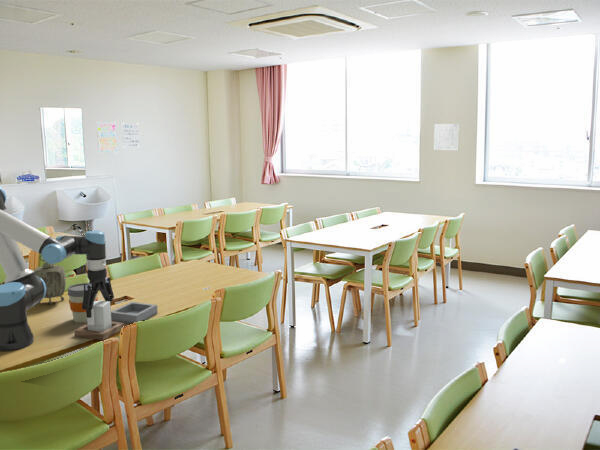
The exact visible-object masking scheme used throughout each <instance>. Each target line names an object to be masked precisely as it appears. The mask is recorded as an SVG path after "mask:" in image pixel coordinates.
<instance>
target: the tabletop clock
mask: <svg viewBox="0 0 600 450" xmlns="http://www.w3.org/2000/svg"><path fill="white" fill-rule="evenodd" d="M39 260H40V261H41V262H43V263H42V266H38V267H36V268H34V270H33V271H34V272H35V274H36V276H38V277H39V278H41V279H42V280H43V281H44V282H45V284H46V294H45V297H44V298H43V299H48V305H52V304H53V302H52V299H53V298H58V297H60V300H61V301H64V300H65V297H64V294H65V290H66V284H67V282H66V280H67V278H66V270H65V268H64V267H63V266H62V265H58V264H57V265H54V264H50V263H47V262H45V261H44V259H43V258H42V255H41V254H40V256H39Z"/></svg>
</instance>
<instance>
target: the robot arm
mask: <svg viewBox="0 0 600 450" xmlns="http://www.w3.org/2000/svg"><path fill="white" fill-rule="evenodd" d="M6 201H7V195H6V192H5V190H4V188H3V187H1V186H0V265H1V268H2V270H3V272H4V274H5V276H6V278H5V280H4V283H3V284H0V352H3V351H4V352H6V351H7V352H8V351H14V350H19V349H22V348H25V347H29V346H30V345H32V344H33V343H34V340H35V338H34V337H35V336H34V333H33V332H32V330H31V327H30V325H29V323H28V313H27V311H28V310H29V309H31V308H32V307H34V306H36V305H38V304H39V303H40V302H41V301H42V300H43V299H45V298H44V297H45V294H46V284H45V282H44V281H43V280H42V279H41V278H39V277H38V276H36V274H35V272H34V270H32V269H30V268H29V267H28V265H27V262H26V260H25V258H24V256H23V253H22V251H21V249H20V245H18V243H19V244H22V245H23V246H25V247H26V248H28V249H30V250H32V251H34V252H36V253H38V254H40V256H41V255H42V256H41V259H42V260H44V261H45V262H47V263H50V264H53V265H54V264H57V263H61V262H62V261H64V260H65V259H68V258H70V257H71V256H74V255H83V256H84V255H85V258H86V261H85V262H86V269H87V270H86V274H87V276H86V277H87V279H88V280H89V282H88V283H89V284H88V285H84V296H83V304H82V309H84V310H86V315H87V321H88V325H94V309H92V307H93V304H94V300H95V297H96V294H97V295H98V293H99V292H100V293H101V295H102V298H103V299H104V301H110V306H111V307H112V305H111V303H112V302H113V301H114V298H115V296H114V292H113V287H112V283H111V277H108V274H107V273H108V272H107V258H106V257H107V255H106V254H107V251H106V248H107V247H106V237H105V232H104V231H102V230H89V231H86V232H85V233H84V235H75V236H74V235H58V236H57V237H56V238H54V237H51V236H50V235H48V234H46V233H44V232H43V231H41V230H39V229H37V228H35V227H33V226H31V225H30V224H28V223H27V222H24V221H22V220H20V219H19V218H17V217H15V216H14V215H11V214H10V213H9V212H7V211H8V208H7V207H6ZM44 261H43V262H44ZM45 262H44V263H45ZM92 290H93V291H92ZM85 306H86V307H85ZM89 306H90V307H89Z"/></svg>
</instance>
